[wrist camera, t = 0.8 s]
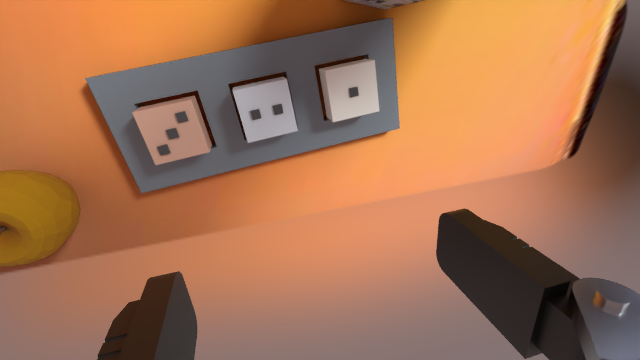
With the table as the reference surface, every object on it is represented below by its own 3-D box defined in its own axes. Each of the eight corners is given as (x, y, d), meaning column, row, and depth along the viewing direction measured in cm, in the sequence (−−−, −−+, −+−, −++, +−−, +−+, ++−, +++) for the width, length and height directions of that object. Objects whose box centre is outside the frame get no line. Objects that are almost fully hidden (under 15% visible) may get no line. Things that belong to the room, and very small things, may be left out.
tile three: (194, 95, 31) (190, 100, 28) (211, 144, 33) (209, 152, 31) (140, 107, 30) (131, 113, 28) (161, 156, 32) (155, 166, 30)
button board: (385, 18, 34) (392, 17, 32) (393, 125, 39) (399, 128, 37) (92, 76, 29) (85, 78, 28) (145, 187, 35) (141, 193, 33)
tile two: (283, 76, 32) (287, 79, 29) (293, 124, 34) (298, 131, 32) (233, 87, 31) (232, 90, 29) (247, 136, 34) (248, 143, 31)
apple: (-19, 158, 30) (-110, 199, 22) (81, 150, 32) (29, 185, 24) (18, 232, 34) (-50, 291, 26) (106, 221, 35) (67, 273, 27)
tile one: (365, 58, 33) (375, 60, 31) (370, 106, 35) (380, 111, 33) (318, 68, 32) (325, 70, 30) (326, 117, 35) (333, 122, 32)
